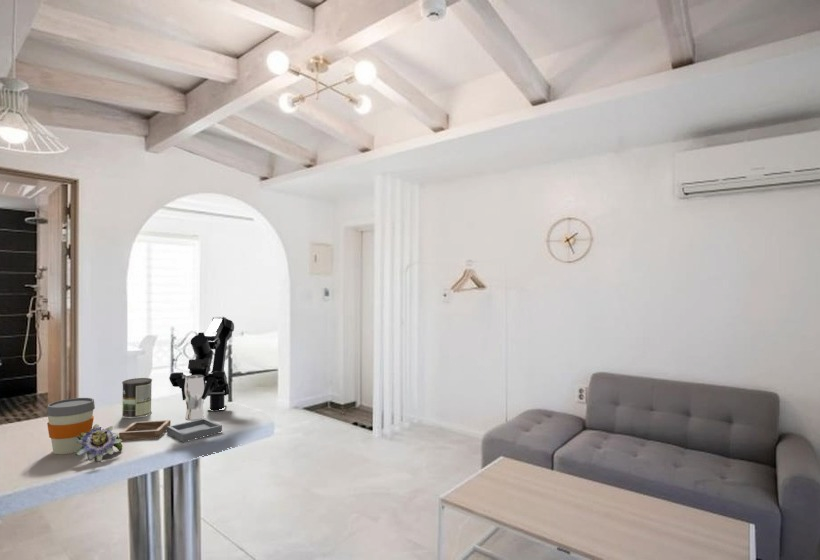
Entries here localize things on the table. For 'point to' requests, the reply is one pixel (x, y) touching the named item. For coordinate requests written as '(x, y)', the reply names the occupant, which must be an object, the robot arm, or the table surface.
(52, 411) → the reusable coffee cup
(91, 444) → the passion flower
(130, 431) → the walnut collar
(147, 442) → the table surface
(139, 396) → the coffee can
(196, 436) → the coaster tray
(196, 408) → the shiny silver hollow cylinder
